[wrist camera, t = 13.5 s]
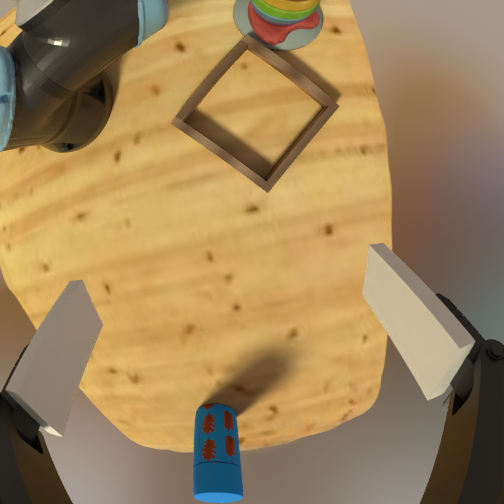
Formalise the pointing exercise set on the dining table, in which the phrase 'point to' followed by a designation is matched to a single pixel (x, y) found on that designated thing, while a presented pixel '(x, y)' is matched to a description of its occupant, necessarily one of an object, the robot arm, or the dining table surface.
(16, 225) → the dining table surface
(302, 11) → the stacking bear
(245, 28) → the pad
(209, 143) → the collar
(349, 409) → the dining table surface
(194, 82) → the dining table surface
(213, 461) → the thermos
